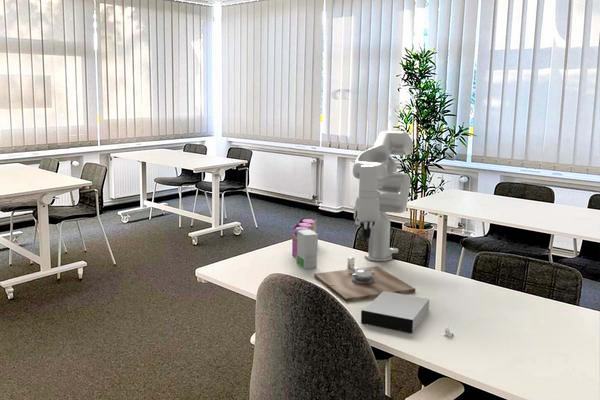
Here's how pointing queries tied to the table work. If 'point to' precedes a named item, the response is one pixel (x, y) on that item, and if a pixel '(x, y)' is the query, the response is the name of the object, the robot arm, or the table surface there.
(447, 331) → the adhesive hook
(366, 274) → the lock lever
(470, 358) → the table surface
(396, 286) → the mounting board
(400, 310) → the disc drive
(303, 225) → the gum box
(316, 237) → the skincare box
